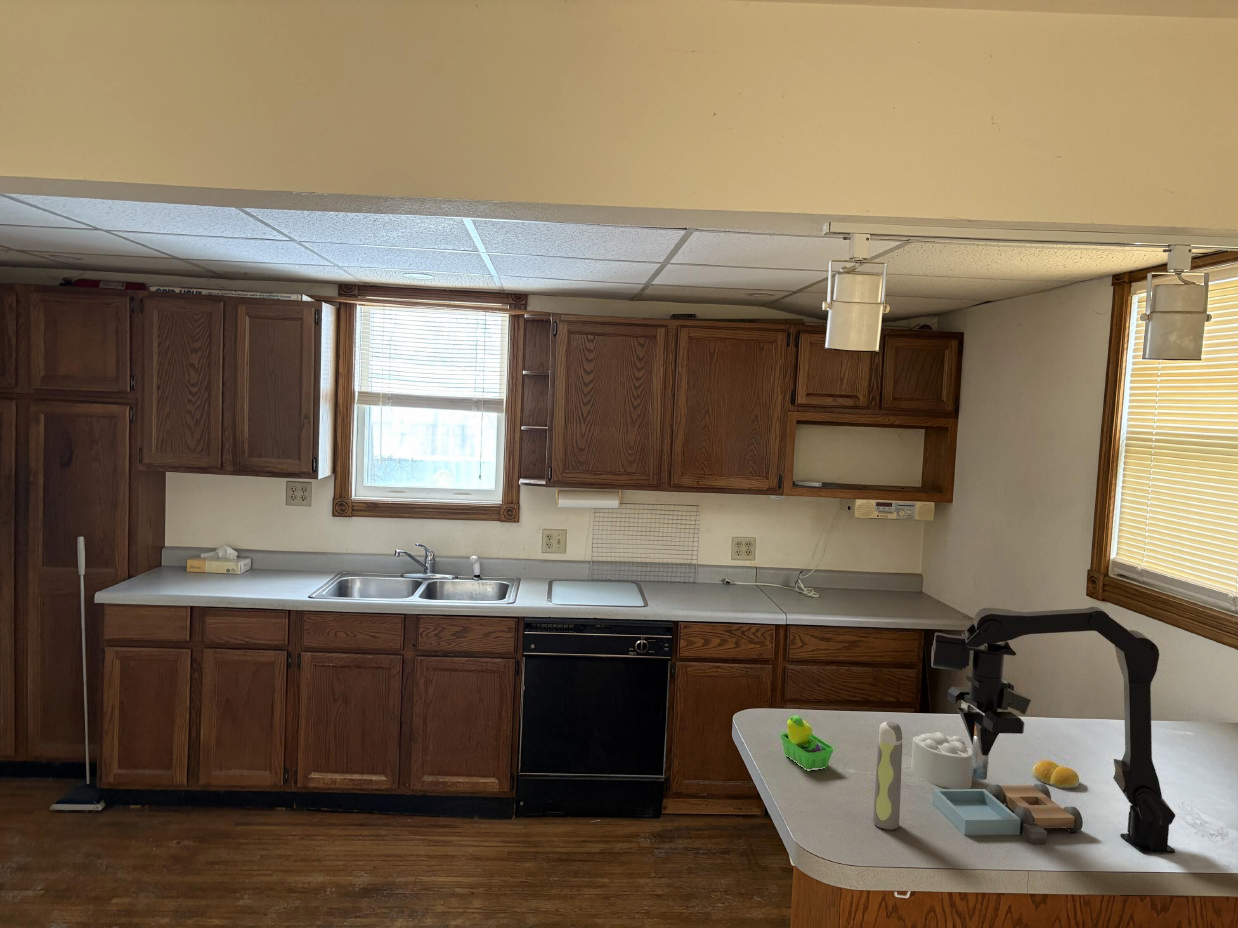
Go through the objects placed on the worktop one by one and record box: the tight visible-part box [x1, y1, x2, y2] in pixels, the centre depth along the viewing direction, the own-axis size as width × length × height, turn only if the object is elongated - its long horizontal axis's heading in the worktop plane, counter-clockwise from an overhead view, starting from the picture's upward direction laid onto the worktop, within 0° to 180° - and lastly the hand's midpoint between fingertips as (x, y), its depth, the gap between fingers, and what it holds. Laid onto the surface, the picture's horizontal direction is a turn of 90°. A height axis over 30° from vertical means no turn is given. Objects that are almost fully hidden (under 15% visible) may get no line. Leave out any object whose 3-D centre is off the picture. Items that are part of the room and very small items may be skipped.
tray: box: [932, 788, 1021, 836], centre depth 167 cm, size 13×11×3 cm
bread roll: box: [1031, 759, 1080, 790], centre depth 186 cm, size 8×9×4 cm
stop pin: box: [970, 725, 990, 781], centre depth 166 cm, size 3×3×10 cm
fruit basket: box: [779, 715, 835, 769], centre depth 191 cm, size 11×9×11 cm
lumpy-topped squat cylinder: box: [910, 731, 973, 789], centre depth 186 cm, size 10×13×9 cm
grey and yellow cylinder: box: [872, 720, 903, 831], centre depth 162 cm, size 5×5×20 cm
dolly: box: [986, 783, 1084, 845], centre depth 166 cm, size 17×12×4 cm
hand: (980, 751), depth 166 cm, fingers closed on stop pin, 3 cm apart
